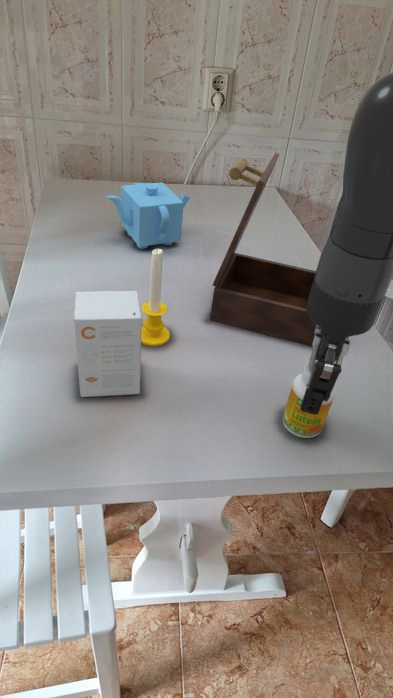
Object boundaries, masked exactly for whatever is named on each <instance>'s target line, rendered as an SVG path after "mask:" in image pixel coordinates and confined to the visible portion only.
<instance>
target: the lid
mask: <svg viewBox="0 0 393 698" xmlns="http://www.w3.org/2000/svg"><path fill="white" fill-rule="evenodd" d="M279 157H280V153H277V152H274V154H273V155H272V157H271V158H270V161H269V162H268V164H267V166H266V167H265V169H264V171H263V170H260V169H258V168H256V167H255V166H252V165H249V161H248V160H247V158H245V157H239V158H238V159H237V160H236V162H235V163H234V164H233V166H232V167H230V169H229V172H228V176H229V178H230V180H233V181H238V180H242V181H244V182H247V183H249V184H250V185H252V186H255V188H254V190H253V193H252V195H251V198H250V200H249V201H248V204H247V206H246V209H245V211H244V212H243V215H242V217H241V220H240V221H239V224H238V226H237V228H236V231H235V232H234V235H233V237H232V240H231V241H230V245H229V247H228V248H227V251H226V253H225V255H224V257H223V260H222V262H221V264H220V267H219V269H218V271H217V274H216V275H215V278H214V280H213V283H212V286H213V287H214V288H215V287H217V286H218V284H219V282H220V280H221V278H222V276H223V274H224V272H225V270H226V268H227V266H228V265H229V263H230V261H231V259H232V257H233V255H234V253H236V251H237V248H238V247H239V245H240V243H241V241H242V238H243V236H244V233H245V231H246V229H247V227H248V225H249V223H250V220H251V218H252V216H253V214H254V212H255V210H256V207H257V205H258V203H259V201H260V199H261V197H262V194H263V193H264V190H265V188H266V185H267V184H268V181H269V179H270V177H271V175H272V173H273V170H274V168H275V166H276V164H277V162H278V159H279ZM245 172H249V173H251V174H253V175H254V176H257V177H259V179H257V178H254V177H253V176H250V175H248V174H246V173H245Z"/></svg>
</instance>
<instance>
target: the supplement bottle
mask: <svg viewBox="0 0 393 698" xmlns="http://www.w3.org/2000/svg"><path fill="white" fill-rule="evenodd" d="M309 361H310V360H308V361H306V363H304V366H303V369H302V371H301V372H300V373H299V374H297V375H296V376H295V378H294V379H293V382H292V384H291V387H290V392H289V394H288V398H287V400H286V401H287V402H286V405H285V408H284V411H283V414H282V424H283V426H284V428H285V429H286V430H287V431H288V432H289V433H290V434H292V435H294V436H296V437H298V438H303V439H311V438H314V437H317V436H319V435H320V433H321V432H322V430H323V428H324V425H325V423H326V420H327V417H328V415H329V412H330V409H331V407H332V404H333V402H334V400H335V397H336V394H337V393H336V392H337V390H336V389H337V387H336V384H335V385H334V387H333V389H332V392H331V394H330V398H329V399H328V401H327V402H326V401H323V402H322V405H321V408H320V410H319V413H318V414H316V415H314V414H310V413H307V412H303V411H302V410H301V404H302V401H303V398H304V395H305V391H306V383H308V380H309V376H310V372H309V370H308V364H309ZM317 361H318V360H315V363H316V362H317Z"/></svg>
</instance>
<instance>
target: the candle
mask: <svg viewBox="0 0 393 698" xmlns="http://www.w3.org/2000/svg"><path fill="white" fill-rule="evenodd" d="M149 273H150V275H149V292H148V293H149V294H148V295H149V296H148V301H146V302H144V303H143V304H142V305H141V311H142V312H143V313H144V314H146V319H145V320H144V321H143V323H142V324H143V325H142V328H141V344H143V345H144V346H145V345H146V346H149V347H160V346H163V345H165V344H167V343H168V342H169V340H170V337H171V334H170V330H169V329H168V328H166V327H165V322H164V321H163V320H162V315H164V314H165V315H166V313H167V312H168V306H167V305H166V304H165V303H163V302H161V299H162V298H161V296H162V278H163V277H162V276H163V249H161V248H159V247H157V246H156V248H154V249H153V250H152V251H151V259H150V272H149Z"/></svg>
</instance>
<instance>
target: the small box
mask: <svg viewBox="0 0 393 698" xmlns="http://www.w3.org/2000/svg"><path fill="white" fill-rule="evenodd" d="M140 307H141V306H140V300H139V294H138V290H103V291H102V290H98V291H97V290H95V291H94V290H93V291H75V293H74V309H73V326H74V335H75V336H74V337H75V347H76V360H77V373H78V382H79V383H78V384H79V394H80V398H91V397H108V396H109V397H110V396H111V397H112V396H126V395H127V396H129V395H140V393H141V370H142V343H141V328H142V326H143V325H142V324H143V323H142V322H143V317H142V313H141V308H140Z"/></svg>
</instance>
